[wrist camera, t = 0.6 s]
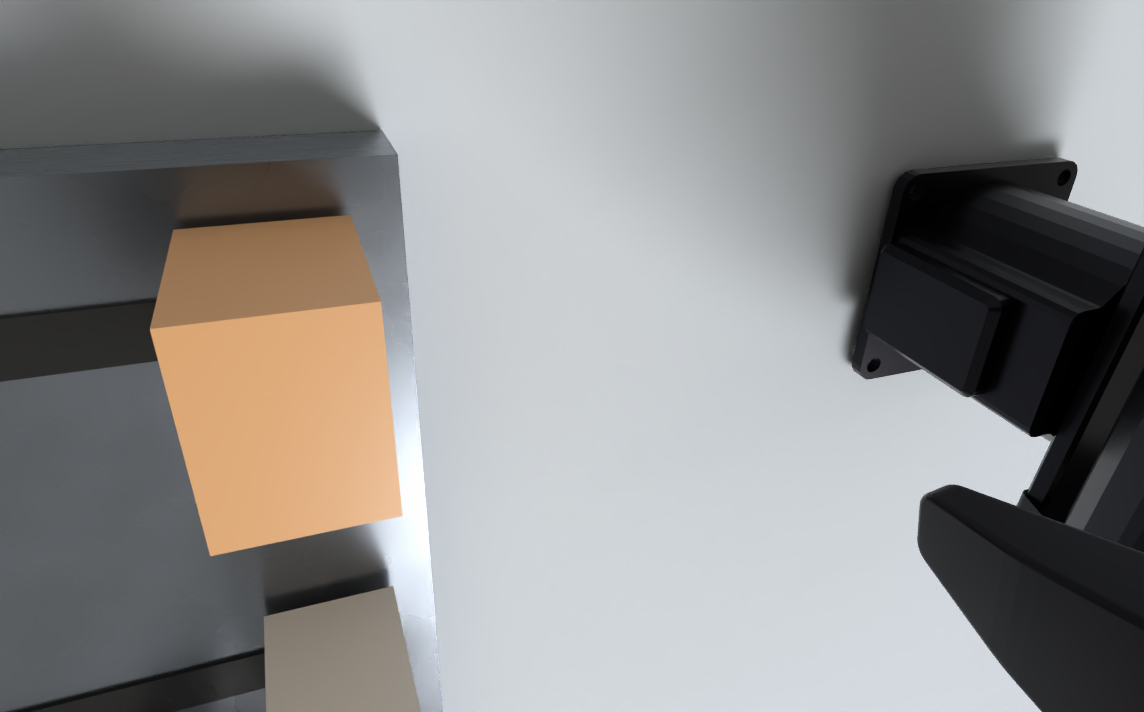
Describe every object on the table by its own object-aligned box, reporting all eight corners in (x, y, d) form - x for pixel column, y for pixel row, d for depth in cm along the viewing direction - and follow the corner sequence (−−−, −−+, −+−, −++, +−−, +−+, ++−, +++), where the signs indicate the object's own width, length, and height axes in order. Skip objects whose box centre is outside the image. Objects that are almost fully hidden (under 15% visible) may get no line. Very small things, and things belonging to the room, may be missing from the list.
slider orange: (350, 214, 14) (380, 301, 11) (371, 397, 16) (402, 516, 13) (173, 229, 13) (150, 328, 10) (217, 421, 15) (210, 556, 12)
